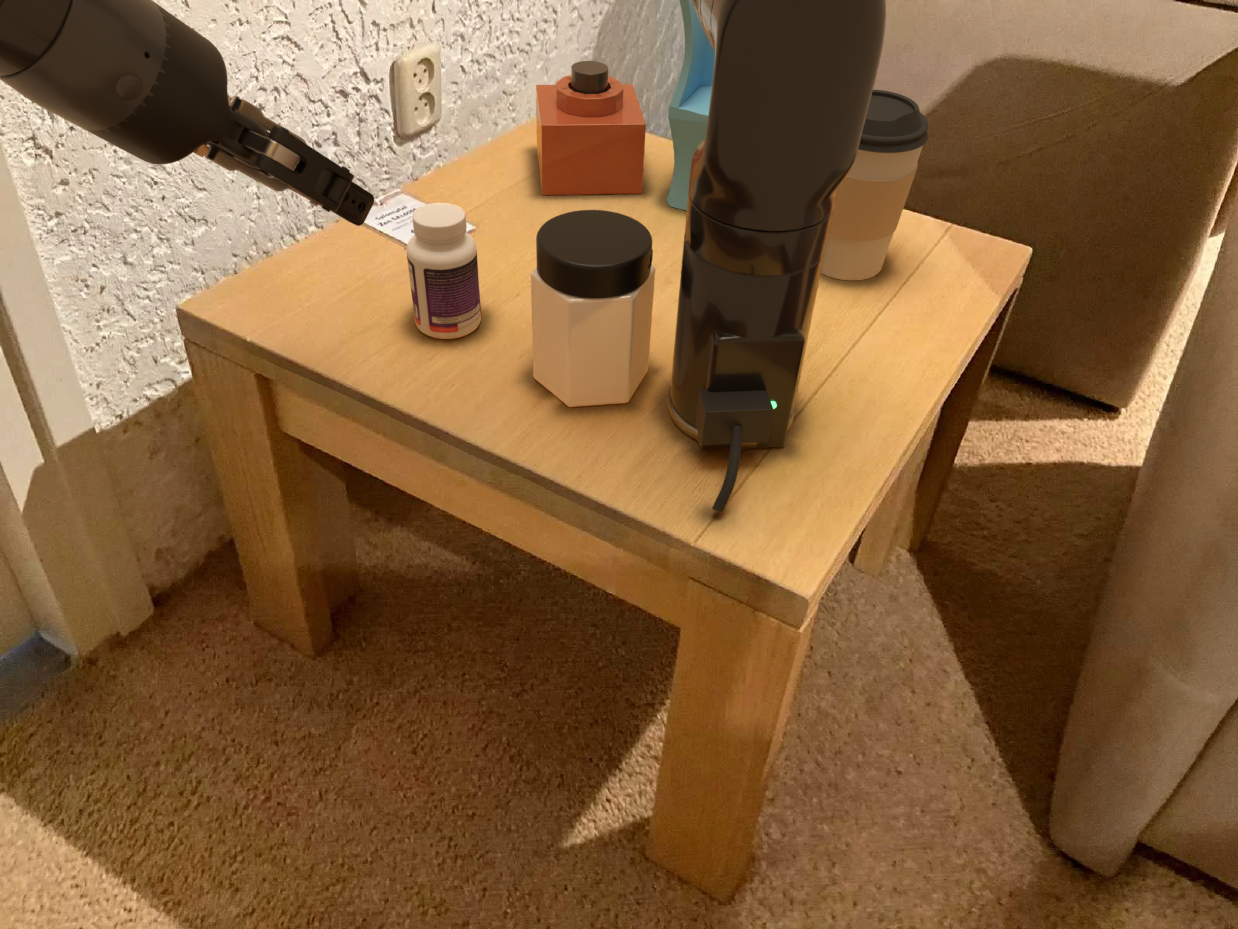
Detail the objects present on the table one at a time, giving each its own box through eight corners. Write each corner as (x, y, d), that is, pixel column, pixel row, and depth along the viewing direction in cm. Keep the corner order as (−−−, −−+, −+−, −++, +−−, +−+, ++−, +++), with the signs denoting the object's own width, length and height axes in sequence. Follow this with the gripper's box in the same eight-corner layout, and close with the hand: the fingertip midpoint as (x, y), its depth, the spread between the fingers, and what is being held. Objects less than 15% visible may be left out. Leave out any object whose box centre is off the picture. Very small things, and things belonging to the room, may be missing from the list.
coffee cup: (775, 256, 92) (801, 94, 82) (837, 227, 97) (869, 70, 87) (853, 298, 87) (890, 132, 77) (914, 265, 92) (957, 104, 82)
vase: (661, 204, 99) (677, -10, 85) (688, 173, 104) (707, -34, 91) (737, 222, 97) (765, 5, 83) (761, 188, 102) (791, -20, 89)
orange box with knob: (641, 193, 100) (647, 105, 94) (542, 195, 99) (541, 106, 93) (629, 150, 108) (633, 66, 102) (536, 151, 107) (535, 66, 101)
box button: (609, 96, 97) (610, 74, 95) (572, 96, 96) (572, 74, 95) (605, 82, 99) (606, 60, 98) (569, 82, 99) (569, 60, 97)
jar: (669, 384, 77) (681, 245, 69) (585, 424, 73) (588, 282, 65) (596, 331, 82) (600, 195, 74) (515, 365, 78) (509, 226, 70)
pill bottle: (494, 317, 83) (489, 210, 76) (453, 348, 79) (443, 238, 73) (443, 297, 85) (434, 190, 78) (401, 326, 81) (387, 217, 75)
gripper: (224, 26, 48) (423, 172, 62) (64, -38, 54) (278, 108, 69) (155, 166, 48) (369, 279, 63) (4, 87, 54) (230, 206, 69)
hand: (321, 190), depth 66 cm, fingers open, 8 cm apart
